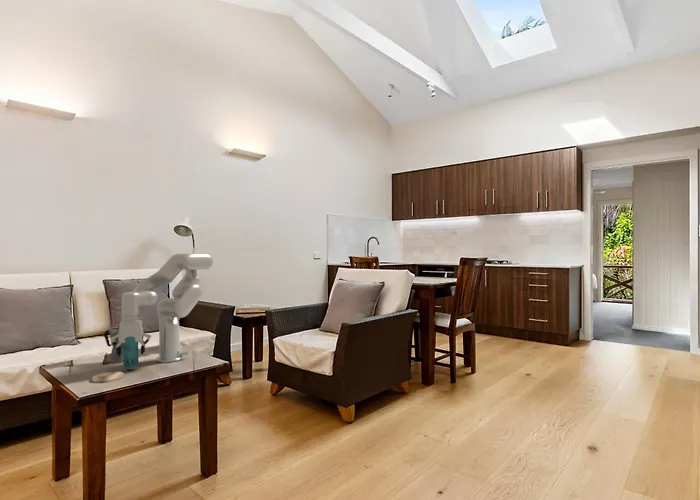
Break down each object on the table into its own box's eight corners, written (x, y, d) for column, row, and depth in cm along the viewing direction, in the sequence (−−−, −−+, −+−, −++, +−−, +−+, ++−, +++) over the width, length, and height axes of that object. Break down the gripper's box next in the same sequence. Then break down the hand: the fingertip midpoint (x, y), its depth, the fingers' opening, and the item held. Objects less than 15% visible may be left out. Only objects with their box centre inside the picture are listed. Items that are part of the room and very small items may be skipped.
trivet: (126, 373, 190) (126, 370, 190) (120, 380, 178) (120, 377, 178) (96, 375, 186) (96, 372, 186) (88, 383, 175) (88, 380, 175)
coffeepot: (137, 359, 215) (137, 324, 216) (125, 363, 206) (125, 327, 206) (110, 358, 218) (110, 324, 218) (97, 362, 208) (97, 327, 208)
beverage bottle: (128, 368, 198) (127, 326, 198) (141, 368, 198) (141, 326, 198) (120, 372, 192) (119, 329, 192) (134, 372, 191) (134, 328, 192)
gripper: (152, 316, 201) (152, 351, 201) (112, 318, 196) (112, 354, 196) (149, 318, 194) (149, 355, 194) (108, 320, 189) (108, 358, 189)
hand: (131, 354), depth 195 cm, fingers open, 9 cm apart
